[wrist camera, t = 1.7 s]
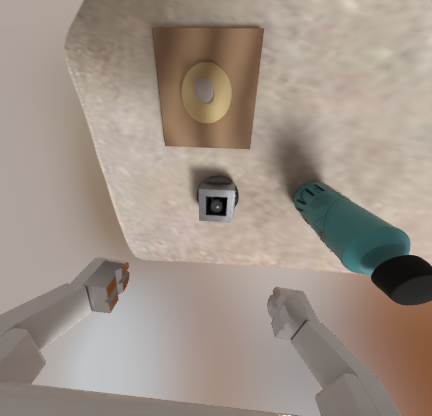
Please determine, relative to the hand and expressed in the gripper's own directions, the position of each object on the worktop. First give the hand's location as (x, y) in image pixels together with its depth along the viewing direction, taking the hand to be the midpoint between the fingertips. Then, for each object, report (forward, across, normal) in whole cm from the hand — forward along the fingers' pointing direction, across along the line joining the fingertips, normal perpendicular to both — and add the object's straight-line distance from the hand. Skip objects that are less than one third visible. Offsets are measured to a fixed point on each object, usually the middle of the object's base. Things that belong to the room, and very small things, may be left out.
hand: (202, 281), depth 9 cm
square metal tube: (+22, -1, +4) cm, 23 cm away
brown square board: (+23, +4, -11) cm, 26 cm away
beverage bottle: (+23, -18, 0) cm, 29 cm away
